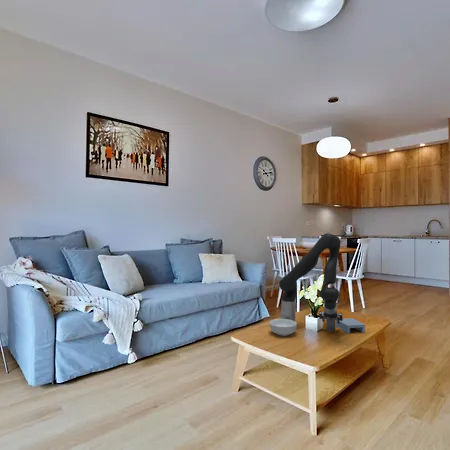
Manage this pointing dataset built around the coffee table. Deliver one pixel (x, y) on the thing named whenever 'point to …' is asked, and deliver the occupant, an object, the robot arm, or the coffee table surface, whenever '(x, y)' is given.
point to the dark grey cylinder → (330, 324)
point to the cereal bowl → (283, 326)
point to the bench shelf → (350, 325)
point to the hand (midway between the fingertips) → (330, 321)
